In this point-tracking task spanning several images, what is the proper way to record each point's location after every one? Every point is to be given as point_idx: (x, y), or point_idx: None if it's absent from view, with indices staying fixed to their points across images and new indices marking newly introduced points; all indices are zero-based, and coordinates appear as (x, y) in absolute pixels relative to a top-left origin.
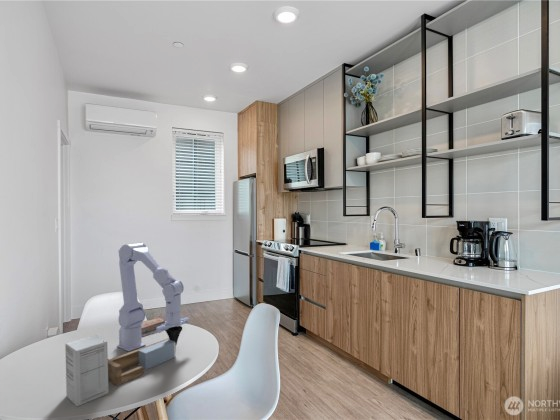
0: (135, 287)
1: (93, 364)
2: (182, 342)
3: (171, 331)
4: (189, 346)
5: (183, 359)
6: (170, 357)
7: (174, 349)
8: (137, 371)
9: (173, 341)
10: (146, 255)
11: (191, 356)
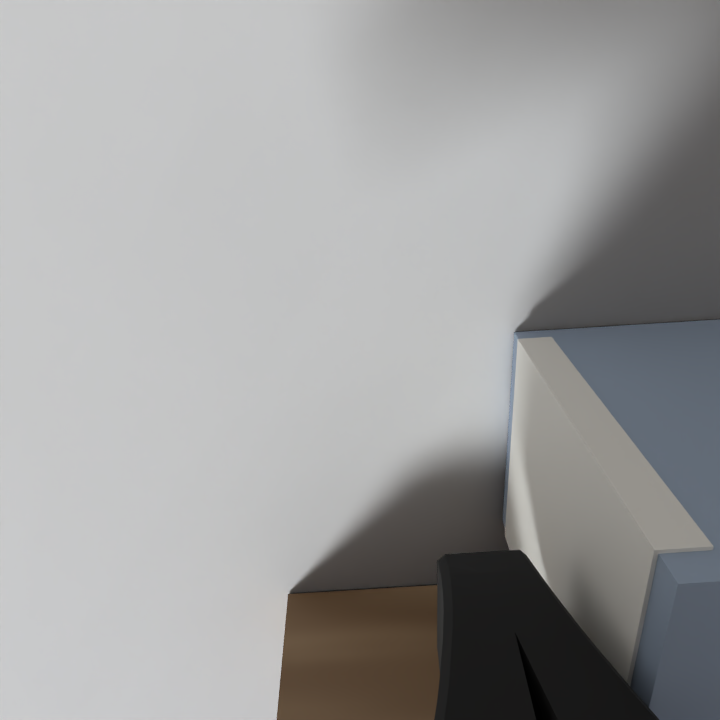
0: None
1: None
2: (57, 711)
3: None
4: (30, 520)
5: (504, 61)
6: (654, 337)
7: (602, 418)
8: None
9: (690, 641)
10: None
11: (266, 42)
